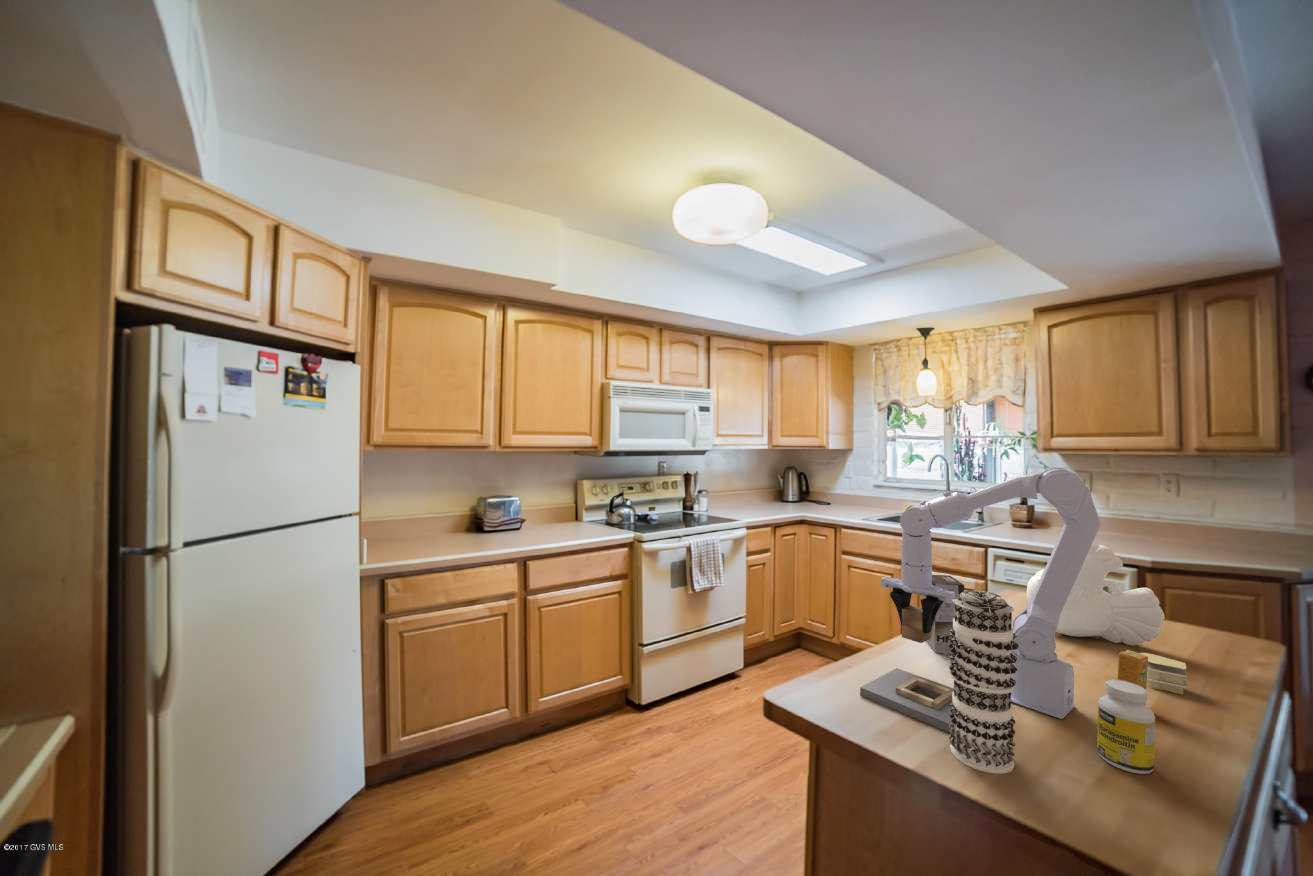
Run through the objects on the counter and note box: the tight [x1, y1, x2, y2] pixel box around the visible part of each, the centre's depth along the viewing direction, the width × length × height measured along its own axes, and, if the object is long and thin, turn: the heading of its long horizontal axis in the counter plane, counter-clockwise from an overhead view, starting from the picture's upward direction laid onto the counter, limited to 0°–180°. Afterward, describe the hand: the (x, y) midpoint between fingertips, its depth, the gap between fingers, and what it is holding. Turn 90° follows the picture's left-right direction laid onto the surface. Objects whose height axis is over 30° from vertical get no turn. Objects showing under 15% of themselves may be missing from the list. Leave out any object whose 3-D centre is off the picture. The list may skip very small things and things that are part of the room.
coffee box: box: [923, 574, 965, 655], centre depth 124 cm, size 9×6×16 cm
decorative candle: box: [948, 589, 1019, 775], centre depth 80 cm, size 9×9×25 cm
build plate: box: [859, 667, 954, 734], centre depth 97 cm, size 18×14×2 cm
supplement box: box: [1117, 649, 1148, 704], centre depth 96 cm, size 3×3×10 cm
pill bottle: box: [1096, 679, 1156, 775], centre depth 79 cm, size 6×6×12 cm
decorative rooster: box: [1026, 541, 1166, 646], centre depth 128 cm, size 25×16×25 cm
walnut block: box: [901, 604, 930, 644], centre depth 109 cm, size 4×4×6 cm
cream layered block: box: [1139, 652, 1187, 695], centre depth 105 cm, size 10×9×6 cm
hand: (915, 628), depth 109 cm, fingers closed on walnut block, 4 cm apart
